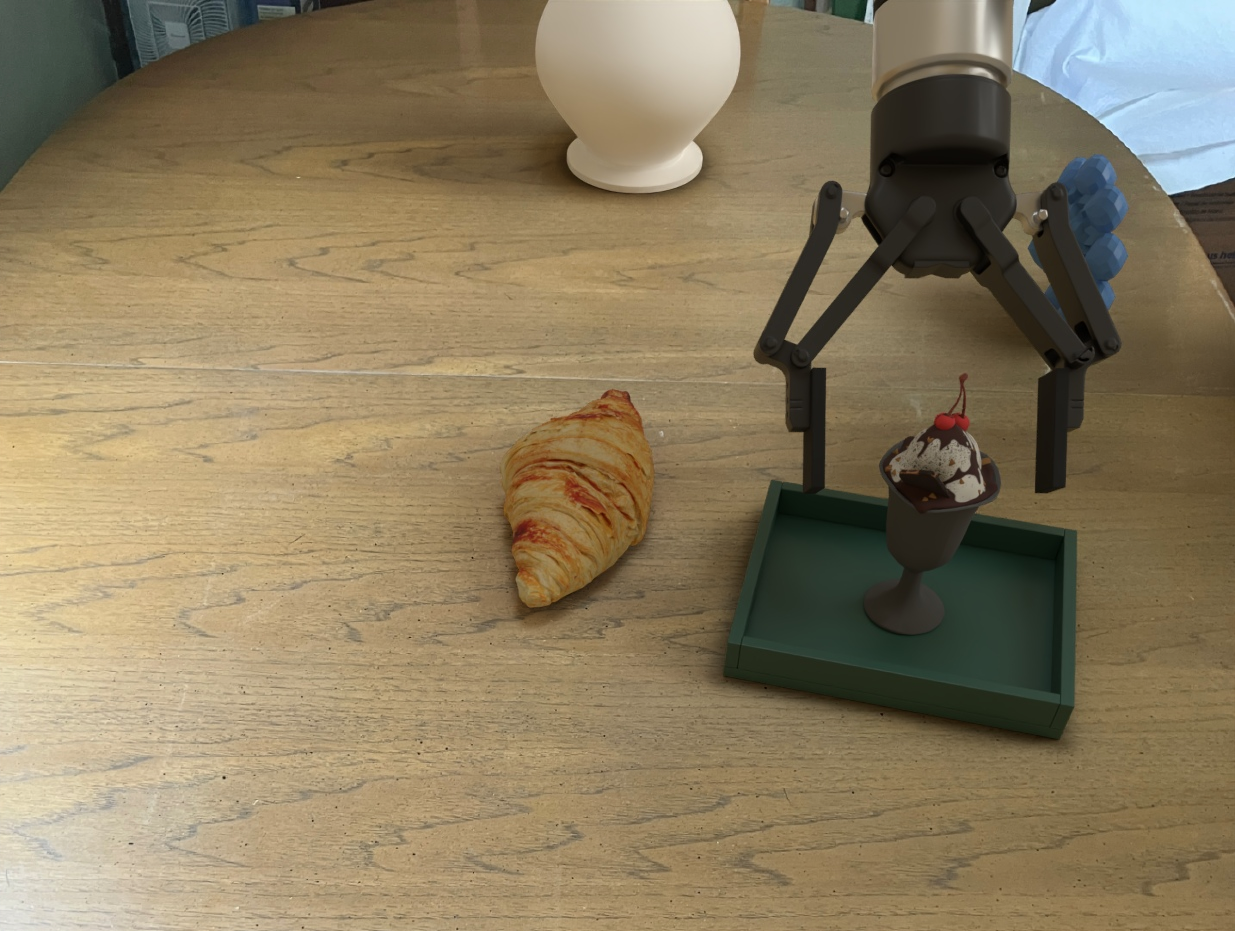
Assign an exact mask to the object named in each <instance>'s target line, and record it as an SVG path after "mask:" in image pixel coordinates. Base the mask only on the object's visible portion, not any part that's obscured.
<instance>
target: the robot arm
mask: <svg viewBox="0 0 1235 931" xmlns="http://www.w3.org/2000/svg"><path fill="white" fill-rule="evenodd" d="M1014 4H1015V0H872V52H871V53H872V54H871V56H872V58H871V87H870V88H871V90H870V94H871V97H872V99H873V100H874V101H875V103H876V104H875V105H874V106H873V108H872V110H871V112H870V135H869V136H870V141H869V143H870V144H869V184H868V189H867V192H860V191H853V190H844V189H843V188H842V186H841V184H840V183H839V182H838V181H836V180H827V181H826V182H825V183H823V185H822V186H821V187H820V190H819V192H818V194H817V195H816V197H815V199H814V201H813V203H812V208H811V216H810V223H809V232H808V238H807V240H806V242H805V244H804V246H803V248H802V250H801V252H800V254H799V256H798V259H797V261H796V263H795V264H794V266H793V269H792V271H791V273H790V274H789V276H788V278H787V281H786V284H785V285H784V286H783V289H782V291H781V293H780V295H779V297H778V300H777V301H776V303H775V306H774V308H773V310H772V312H771V314H770V316H769V317H768V320H767V322H766V324H765V326H764V328H763V330H762V332H761V334H760V336H759V338H758V340H757V343H756V344H755V347H754V348H753V352H752V355H753V358H754V359H753V360H754V361H755V362H756V363H758V364H759V365H762V366H763V365H768V366H771V367H773V368H776V369H778V370H780V371H781V372H782V374H783V376H784V379H785V398H784V399H785V401H784V402H785V413H784V414H785V418H784V423H785V426H786V429H787V432H788V433H802V485H803V494H816V493H818V492H819V491H821V490H822V489H824V488H826V432H827V431H826V426H827V425H826V424H827V419H826V418H827V367H812V362H813V361H814V359H816V358H817V356H818V355H819V353H820V352H821V351H822V350H823V349H824V348H825V347H826V345H827V344H828V343H829V341H830V340H831V339H832V338H833V337H834V335H836V333H837V332H838V330H839V329H840V328H841V327H843V325H844V323H845V322H846V321H847V320H848V319H849V317H850V316H852V313H854V311H855V310H856V309H857V308H858V307H859V305H860V304H861V303H862V302H863V300H864V299H865V298H866V297H867V296H868V295H869V293H870V292H871V291H872V289H874V287H875V286H876V285H877V284H878V282H879V281H880V280H881V279H882V277H884V275H885V274H886V273H887V272H888V270H889V269H890V268H891V267H892V268H893V269H894V270H895V271H896V272H898V273H900V274H902V275H904V279H921V278H924V277H927V276H935V277H939V278H941V279H960V278H961V277H962V276H964V275H966V274H968V273H970V274H971V275H972V277H973V278H974V279H975V280H976V281H977V283H978V284H979V285H980V286H981V287H982V288H985V289H987V290H988V291H989V292H990V293H991V295H992V296H993V297H994V299H995V300H996V301H997V302H998V304H999V305H1000V306H1001V307H1002V309H1003V310H1004V311H1005V312H1006V314H1007V315H1008V316H1009V317H1010V319H1011V320H1012V321H1013V323H1014V324H1015V325H1016V327H1017V328H1018V329H1019V331H1020V332H1021V334H1023V335H1024V337H1025V338H1026V340H1027V341H1028V342H1029V343H1030V344H1031V346H1032V348H1034V350H1035V351H1036V353H1037V354H1038V355H1039V356H1040V357H1041V359H1042V361H1044V363H1045V364H1046V365H1047V366H1048V368H1049V369H1050V371H1048V372H1046V373H1045V374H1044V375H1043V374H1042V376H1039V378H1037V398H1036V399H1037V402H1036V403H1037V404H1036V410H1037V411H1036V437H1035V469H1034V470H1035V472H1034V494H1050V493H1053V492H1056V491H1059V490H1062V489H1066V487H1067V463H1068V462H1067V461H1068V459H1067V458H1068V433H1071V432H1074V431H1076V430H1078V429H1080V428H1081V426H1082V425H1083V424H1082V423H1083V421H1084V415H1085V409H1084V408H1085V392H1086V390H1085V388H1086V374H1087V370H1088V369H1089V367H1092V366H1096V365H1099V364H1100V363H1101V362H1104V361H1105V360H1108V359H1109V358H1111V357H1113V356H1114V355H1116V354H1117V353H1118V352H1120V350H1121V349H1122V339H1121V337H1120V334H1119V332H1118V329H1117V328H1116V325H1115V323H1114V321H1113V319H1112V316H1111V315H1110V312H1109V310H1107V307H1106V305H1105V303H1104V300H1103V298H1102V296H1101V294H1100V291H1099V289H1098V287H1097V284H1096V282H1095V280H1094V278H1093V275H1092V273H1091V271H1090V269H1089V266H1088V264H1087V262H1086V259H1085V257H1084V255H1083V253H1082V250H1081V248H1080V246H1079V243H1078V241H1077V239H1076V237H1075V234H1074V232H1073V230H1072V228H1071V225H1070V219H1069V205H1068V192H1067V189H1066V187H1065V186H1064V185H1063V184H1062V183H1059V182H1057V181H1054V182H1052V183H1051V184H1049V185H1048V186H1047V187H1046V188H1045V189H1044V190H1041V191H1030V192H1023V193H1022V192H1021V193H1015V191H1014V189H1013V187H1012V184H1011V181H1010V173H1009V172H1010V162H1011V129H1012V126H1011V125H1012V124H1011V123H1012V96H1011V94H1010V92H1009V91H1008V90H1007V88H1008V87H1009V86H1010V84H1011V83H1012V79H1013V72H1014V71H1013V70H1014V69H1013V68H1014V63H1013V62H1014V60H1013V59H1014V58H1013V55H1014ZM857 218H860V220H861V222H862V224H863V225H864V227H865V229H866V230H867V231H868V233H869V234H870V236H871V237H872V239H873V241H874V242H875V243H876V245H877V247H876V248H875V249H874V250H873V252H872V253H871V254H870V255H869V257H868V258H867V259H866V261H865V262H864V263H863V265H861V267H860V268H859V269H858V270H857V272H856V273H855V274H854V275H853V276H852V278H851V279H850V280H849V281H848V282H847V284H846V285H845V286H844V287H843V289H842V290H841V291H840V292H839V293H838V295H837V296H836V297H835V298H834V299H833V301H831V303H830V304H829V305H828V307H827V308H826V309H825V310H824V312H822V314H821V315H820V316H819V318H817V320H816V321H815V323H814V324H813V325H812V326H811V327H810V329H808V331H807V332H806V333H805V335H804V336H803V337H802V338H801V339H800V340H799V342H798V343H794V342H792V341H789V340H787V339H786V337H787V334H788V333H789V331H790V329H791V328H792V327H791V326H792V324H793V323H794V320H795V319H796V317H797V314H798V312H799V311H800V308H801V307H802V304H803V302H804V300H805V298H806V296H807V294H808V292H809V290H810V288H811V286H812V284H813V282H814V280H815V278H816V276H817V274H818V271H819V269H820V267H821V266H822V263H823V262H824V259H825V257H826V255H827V254H828V251H829V249H830V247H831V245H832V243H833V241H834V239H835V236H836V235H842V234H843V233H845V232H846V231H847V230H848V228H849V226H850V224H851V223H852V220H854V219H857ZM1012 219H1014V220H1017V221H1018V222H1019V223H1020V224H1021V227H1022V231H1023V233H1024V234H1026V235H1028V236H1031V237H1032V239H1033V243H1034V247H1035V250H1036V253H1037V256H1038V258H1039V260H1040V262H1041V265H1042V267H1043V269H1044V271H1045V273H1044V274H1045V276H1046V278H1047V280H1048V283H1049V285H1051V287H1052V289H1053V292H1054V294H1055V296H1056V298H1057V301H1058V303H1059V305H1060V307H1061V310H1062V312H1063V314H1064V317H1065V319H1066V321H1067V322H1066V321H1065V320H1064V318H1063V317H1062V316H1061V315H1060V313H1059V312H1058V311H1057V309H1056V308H1055V307H1054V306H1053V304H1052V303H1051V302H1050V300H1049V299H1048V298H1047V296H1046V295H1045V292H1044V291H1043V290H1042V289H1041V287H1040V286H1039V285H1038V284H1037V282H1036V281H1035V280H1034V278H1033V277H1032V275H1031V274H1030V273H1029V272H1028V271H1027V269H1026V268H1025V267H1024V265H1023V264H1022V263H1021V261H1020V257H1019V253H1018V251H1017V249H1016V247H1014V246H1013V244H1012V243H1011V241H1010V240H1009V239H1008V237H1006V234H1004V230H1005V229H1006V228H1007V226H1008V225H1009V223H1010V222H1011V220H1012ZM1044 271H1043V272H1044ZM1067 323H1068V324H1067Z"/></svg>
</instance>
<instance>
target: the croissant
mask: <svg viewBox="0 0 1235 931" xmlns="http://www.w3.org/2000/svg"><path fill="white" fill-rule="evenodd" d="M549 419H550V420H548V421H546V422H544V423H542V424H539V425H538V426H536V427H534V428H532V430H531V431H530V432H529V433H526V434H525V435H523V436H521V437H520V438H518V439H517V441H515V443H514V444H513V445H512V446H511V448H510V449H509V450H507V451H506V452H505V454H504V455H503V457H502V459H501V462H500V465H499V472H500V486H501V488H502V490H503V492H504V494H505V499H504V505H503V517H505V518H506V519H507V521H508V523H509V524H510V527H511V530H512V532H513V534H512V542H511V550H510V551H511V555H512V557H513V559H514V561H515V566H516V567H517V569H518V572H517V573H516V576H515V582H516V586H517V590H518V597H519V599H520V600H521V602H522V603H523V604H525V605H526V606H527V607H528V608H542V607H547V606H550V605H551V604H552V603H556V602H558V601H560V600H561V599H563V598H564V597H566V596H567V595H569V594H571V593H574V592H576V591H578V590H581V589H583V588H584V587H586V586H587V585H588V584H589V583H592V581H593V580H594V579H595V578H596V577H598V576H600V575H601V574H602V573H604V572H606V571H607V570H608V569H610V568H612V567H613V566H614V565H616V562H618V560H619V559H620V558H621V556H623V555H624V553H625V552H626V551H627V550H628V548H629V547H630V546H631V547H634V546H636V545H637V544H639V543H640V542H641V541H642V540H644V537H645V534H646V531H647V528H648V522H649V517H650V516H649V515H650V514H651V513H650V512H651V505H652V499H653V492H654V483H655V474H656V471H655V464H654V461H653V449H652V448H651V446H650V442H649V441H648V440H647V438H646V437H645V430H644V427H643V419H642V417H641V415H640V413H639V412H638V410H637V408H636V407H635V404H634V403H633V402H632V399H631V395H630V393H629V391H627V390H619V389H615V388H609V389H608V390H606V391H605V392H604V393H603V394H602V395H601V396H600V398H598V399H595V400H592V401H590V402H588V403H587V404H586V405H584V406H583V407H582V408H580V409H579V410H578V411H574V412H572V413H569V414H568V415H563V416H560V417H555V416H554V417H551V418H549Z"/></svg>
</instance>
